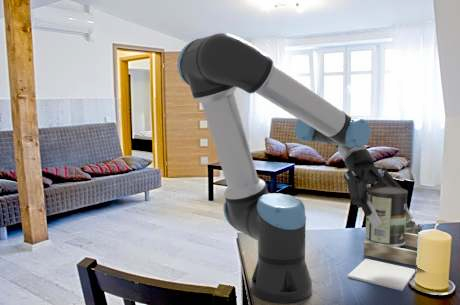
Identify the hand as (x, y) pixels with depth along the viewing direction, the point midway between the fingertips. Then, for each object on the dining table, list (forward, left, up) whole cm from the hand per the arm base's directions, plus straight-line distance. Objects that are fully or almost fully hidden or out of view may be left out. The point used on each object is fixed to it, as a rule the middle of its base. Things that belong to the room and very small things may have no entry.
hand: (393, 223), depth 112 cm
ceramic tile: (-3, 0, -15) cm, 15 cm away
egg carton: (-6, +39, -15) cm, 43 cm away
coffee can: (-3, +1, -6) cm, 7 cm away
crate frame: (-4, +19, -15) cm, 24 cm away
